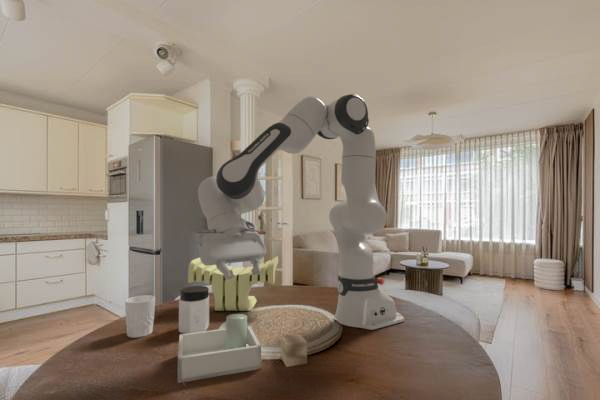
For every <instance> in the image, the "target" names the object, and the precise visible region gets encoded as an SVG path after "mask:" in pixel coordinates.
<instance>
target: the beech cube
mask: <svg viewBox="0 0 600 400" xmlns="http://www.w3.org/2000/svg"><path fill="white" fill-rule="evenodd" d="M280 359H281V360H282V362H283V364H284V365H285V367H286V368H288V367H294V366H300V365H301V366H302V365H306V364H308V341H307V340H306V338H304V337H303V336H302V335H301V334H300V333H299V334H291V335H285V336H284V335H283V336H280Z"/></svg>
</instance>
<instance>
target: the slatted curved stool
mask: <svg viewBox="0 0 600 400" xmlns="http://www.w3.org/2000/svg"><path fill="white" fill-rule="evenodd" d="M278 264H279V255H277V256H275V257H273V258H272V259H270V260H267V261H266V262H262V263H259V268H260V271H261V273H260V274H258V275H253V273H252V271H251V270H252V269H253V265H252V266H247V267H244V266H243V267H242V266H241V267H238V266H237V267H234V266H230V265H227V264H225V265H226V266H227V268H228V269H229V270H232V271H233V274H234V277H233V278H232V279H229V280H225V277H224V274H222V273H221V272H220V271H219V270H218V269H217V266H216V265H208V266H205V265H204V264H203V263H202V262H201V259H200V256H199V257H197V258H195V259H192V260H190V263H189V264H188V269H187V280H188V281H187V283H188V284H191V283H202V282H203V283H204V284H206V285H208V286H211V291H212V294H213V296H214V297H213V298H214V312H215V311H218V312H220V311H221V312H224V311H227V312H232V311H233V312H238V311H240V312H242V311H243V312H251V311H252V310H253V308H254V306H255V305H256V303H257V302H258V300H257V298H256V297H255V295H250V292H251V289H252V286H254V285H255V284H257V283H258V282H259V283H266V282H267V283H268V284H272V285H274V283H275V281H276V279H275V278H276V270H277V267H278ZM250 310H251V311H250Z"/></svg>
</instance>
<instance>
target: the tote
mask: <svg viewBox="0 0 600 400" xmlns="http://www.w3.org/2000/svg"><path fill="white" fill-rule="evenodd" d="M251 326H252V325H247V339H246V344H248V345H249V347H242V348H235V349H229V350H225V338H226V328H220V329H213V330H212V329H211V330H206V331H203V332H195V333H187V334H185V333H180V334H179V335H178V336H179V337H178V338H179V340H178V352H177V384H182V383H187V382H188V383H189V382H193V381H199V380H203V379H204V380H205V379H210V378H215V377H220V376H228V375H234V374H238V373H244V372H249V371H256V370H261V369H262V345H261V343H260V341H259V340H258V337H257V336H256V334H255V332H254V331H253V328H252V327H251Z"/></svg>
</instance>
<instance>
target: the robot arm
mask: <svg viewBox="0 0 600 400" xmlns="http://www.w3.org/2000/svg"><path fill="white" fill-rule="evenodd" d="M369 122H370V120H369V110H368V107H367V103H366V102H365V100H364V99H363V97H361V96H359V94H355V93H350V94H346V95H342V96H340V97H339V98H338V99H336V100H334V101H332V102H330V103H328V105H327V104H324V102H323V101H322V100H321V99H320V98H317V97H315V96H307V97H304V98H302V99H301V100H300V101H299V102H297V104H295V105H294V106H293V107H292V108H290V110H289V111H288V112H287V113H286V114H285V115H284V117H282V119H281V120H280V121H279V122H276V123H273V124H272V125H270V126H269V127H268V128H266V129H265V130H264V131H262V133H261V134H260V135H258V136H257V138H256V139H254V140H253V141H252V142H251V143H250V144H249V145H248V146H247V147H246V148H245V149H243V150H242V151H241V152H240V153H239V154H237V155H235V156H234V157H232V158H230V159H229V160H227V161H225V162H224V163H223V164H222V165H221V166H220V168H219V169H218V171H217V173H216V175H213V176H208V177H207V178H205V179H204V180H202V181H201V182H200V184H199V185H198V188H197V195H198V200H199V201H198V202H199V205H200V208H201V212H202V214H203V215H204V217H205V218H206V224H207V229H199V230H198V231H197V232H195V236H194V237H195V240H196V243H197V249H198V254H199V257H200V259H201V262H202V263H203V264H204V265H205V266H208V265H216V266H217V269H218V270H219V271H220V272H221V273H222V274H224V277H225V280H229V279H232V278H233V277H234V274H233V271H232V270H229V269H228V268H227V266H228V265H227V264H235V263H243V262H244V263H245V262H250V264H251V265H252V266H253V269H252V270H251V271H252V273H253V275H258V274H260V273H261V271H260V268H259V264H261V263H260V261H261V259H263V258H264V257H265V256H267V252H268V251H267V247H266V245H265V242H264V240H263V238H262V237H261V234H259V232H257V230H258V227H257V225H256V223H254V222H252V221H248V220H246V219H244V218H242V217H241V216H240V215H242V214H246V213H249V212H252V211H254V210H257V209H258V208H259V207H260V206H261V205H263V203H264V201H265V194H266V193H265V191H264V189H263V186H262V183H261V182H260V181H259V179H258V174H259V171H260V169H261V168H262V167H263V166H264V165H265V163H267V162H268V161H269V160H270V159H271V158H272V157H273V155H275V153H276V152H278V151H280V150H281V151H283V152H285V153H287V154H293V155H295V154H299V153H301V152H303V151H304V150H305V149H306V148H307V147H308V146H309V145H310V144H311V143H312V141H313V140H314V138H315V137H316V136H317V135H318V136H319V137H321V138H322V139H325V140H334V139H337V138H340V141H341V145H342V154H341V155H342V156H341V171H340V172H341V174H340V182H341V185H342V186H343V188H344V191H345V195H346V200H344V201H341V202H338V203H337V204H336V205H334V206H333V207H332V208H331V209H330V211H329V216H328V217H329V222H330V224H331V226H332V228H333V232H334V236H335V239H336V244H337V248H338V250H337V251H338V265H339V266H338V272H339V274H338V276H337V292H338V299H337V305H336V309H335V310H336V311H335V315H334V318H336V319H337V320H338V321H339V322H340V323H339V324H340V325H343V326H347V327H352V328H360V329H364V330H369V331H370V330H371V331H372V330H378V329H380V328H385V327H389V326H392V325H396V324H399V323H403V322H405V317H404V316H403V314H401V313H399V312H398V311H397V307H396V302H395V301H394V299H393V298H392V297H390V295H388V294H387V293H386V292H384V291H383V290H382V289H381V288H379V285H380V286H383V285H384V284H385V283H386V281H385V280H384V278H381V277H376V276H375V275H374V254H373V250H372V249H371V247H370V245H369V243H368V239H367V236H368V235H373V234H376V233H379V232H381V231H382V230H383V229H384V228H385V226H386V225H387V224H386V223H387V220H388V215H387V212H386V209H385V208H384V206H383V205H382V203H381V202H380V199H379V195H378V192H377V188H376V162H377V161H376V158H377V153H376V151H377V150H376V149H377V146H376V138H375V134H374V131H373V129H372V128H370V127H368V125H369ZM226 265H227V266H226ZM378 284H379V285H378Z"/></svg>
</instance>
